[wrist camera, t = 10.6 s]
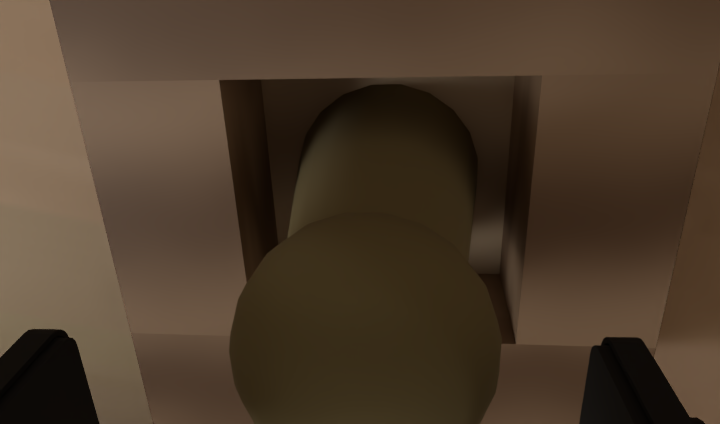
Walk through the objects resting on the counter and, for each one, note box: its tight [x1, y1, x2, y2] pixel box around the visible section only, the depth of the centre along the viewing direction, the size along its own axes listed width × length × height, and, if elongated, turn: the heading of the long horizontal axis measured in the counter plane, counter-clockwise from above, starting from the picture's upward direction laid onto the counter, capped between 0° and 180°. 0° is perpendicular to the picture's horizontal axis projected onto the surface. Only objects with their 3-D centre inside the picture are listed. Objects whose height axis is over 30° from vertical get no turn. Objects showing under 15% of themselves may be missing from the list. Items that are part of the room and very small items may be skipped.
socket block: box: [49, 0, 720, 424], centre depth 18 cm, size 16×16×5 cm
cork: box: [229, 84, 502, 424], centre depth 15 cm, size 6×6×11 cm
